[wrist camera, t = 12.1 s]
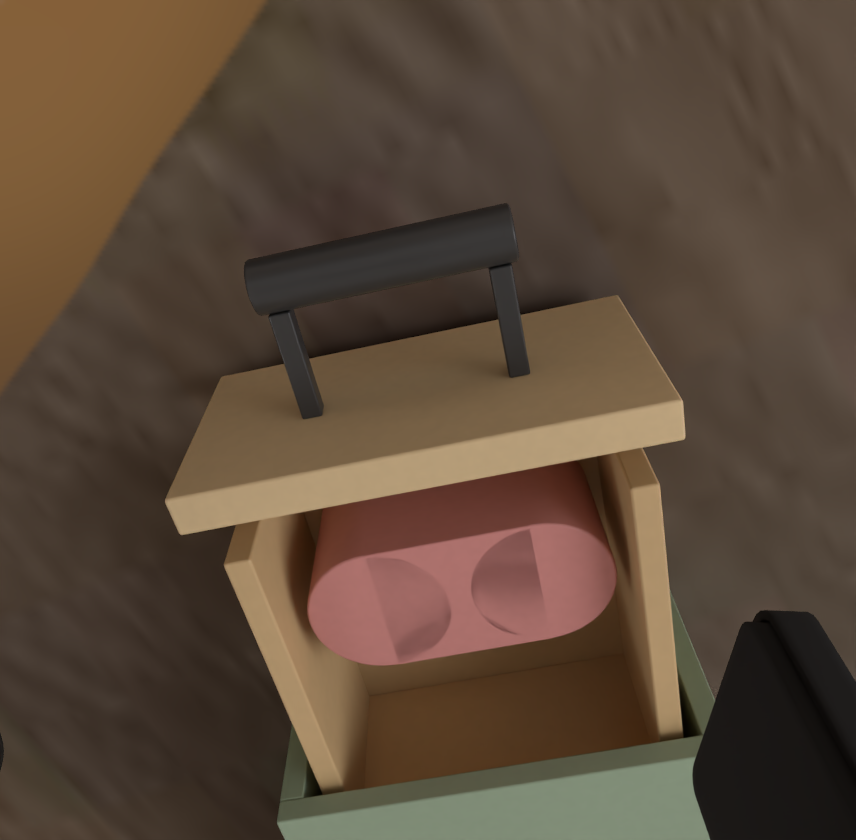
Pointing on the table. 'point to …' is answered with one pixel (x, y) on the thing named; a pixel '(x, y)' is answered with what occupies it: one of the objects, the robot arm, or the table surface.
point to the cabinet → (525, 790)
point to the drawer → (431, 467)
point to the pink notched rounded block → (461, 567)
